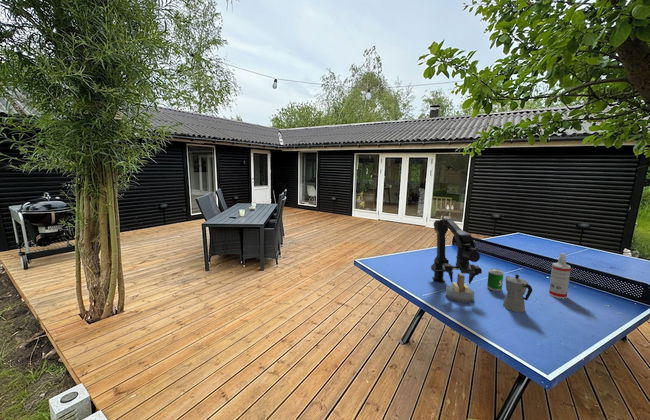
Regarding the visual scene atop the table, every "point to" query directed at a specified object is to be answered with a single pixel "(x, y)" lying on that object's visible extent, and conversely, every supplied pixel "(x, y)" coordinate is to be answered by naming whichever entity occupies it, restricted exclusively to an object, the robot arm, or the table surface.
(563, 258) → the white squeeze bottle
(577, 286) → the table surface
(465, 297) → the blue-grey bowl
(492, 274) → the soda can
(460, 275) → the tall brown wooden block
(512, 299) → the coffeepot
